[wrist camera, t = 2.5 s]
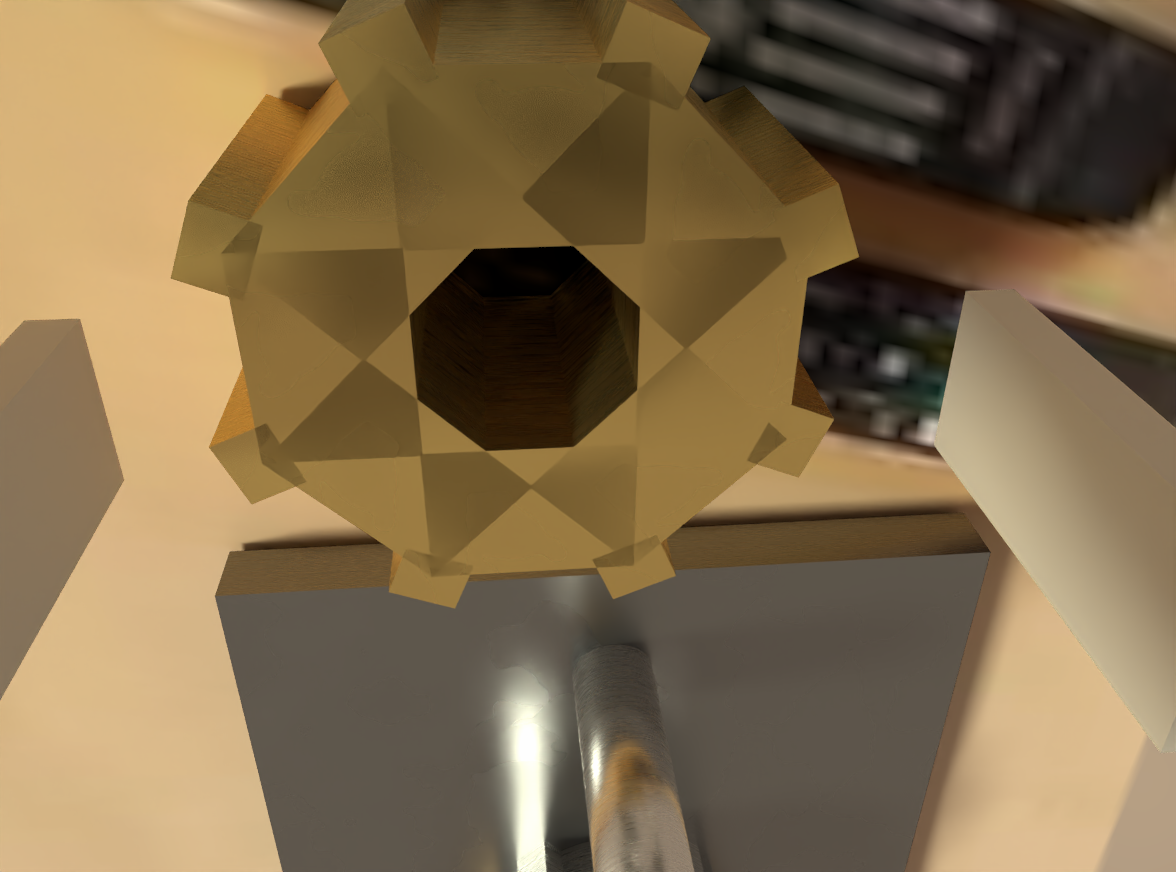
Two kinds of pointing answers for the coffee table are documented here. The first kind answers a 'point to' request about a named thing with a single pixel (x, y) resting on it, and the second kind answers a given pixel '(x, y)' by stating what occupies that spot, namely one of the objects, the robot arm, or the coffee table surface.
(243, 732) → the coffee table surface
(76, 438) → the robot arm
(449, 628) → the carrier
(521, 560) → the gear
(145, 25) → the coffee table surface
